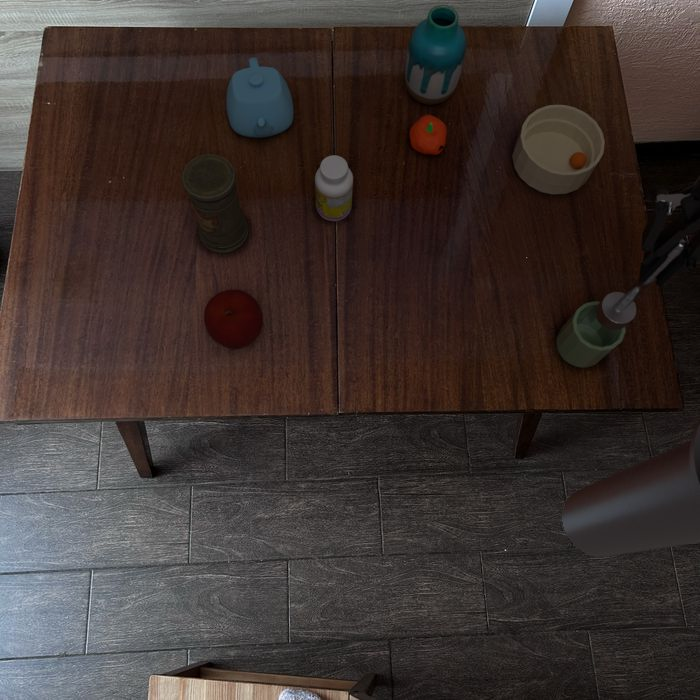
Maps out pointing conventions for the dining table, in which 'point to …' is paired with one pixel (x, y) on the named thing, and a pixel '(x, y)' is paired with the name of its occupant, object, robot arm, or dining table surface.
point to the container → (215, 203)
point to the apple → (233, 319)
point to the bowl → (557, 148)
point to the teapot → (259, 101)
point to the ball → (578, 160)
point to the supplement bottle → (333, 188)
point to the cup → (586, 338)
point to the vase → (435, 56)
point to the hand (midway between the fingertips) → (651, 274)
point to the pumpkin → (428, 135)
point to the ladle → (630, 296)
